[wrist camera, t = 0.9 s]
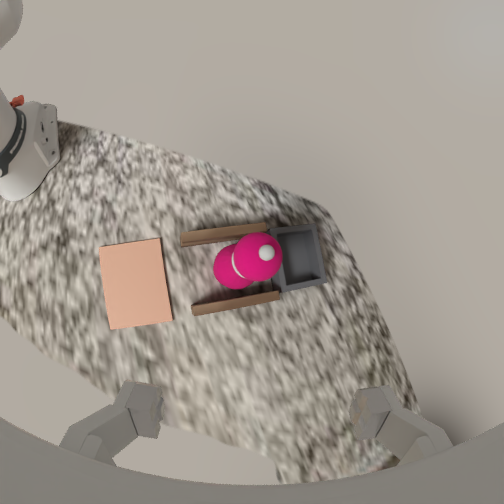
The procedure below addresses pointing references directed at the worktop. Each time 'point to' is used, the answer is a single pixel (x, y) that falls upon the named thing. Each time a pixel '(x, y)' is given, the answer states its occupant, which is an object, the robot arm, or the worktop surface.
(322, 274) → the box
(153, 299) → the terracotta board
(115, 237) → the worktop surface
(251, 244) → the pepper mill
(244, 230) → the walnut channel
